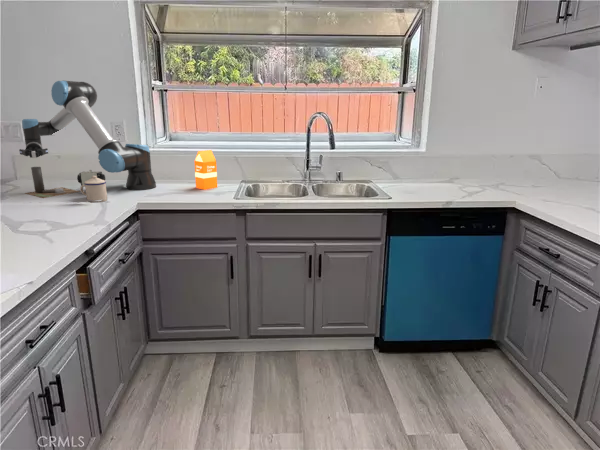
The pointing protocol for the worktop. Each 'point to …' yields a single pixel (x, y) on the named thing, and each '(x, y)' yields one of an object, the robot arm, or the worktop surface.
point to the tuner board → (52, 193)
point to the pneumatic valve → (89, 176)
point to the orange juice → (205, 170)
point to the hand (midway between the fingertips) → (33, 155)
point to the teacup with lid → (95, 189)
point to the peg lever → (41, 182)
